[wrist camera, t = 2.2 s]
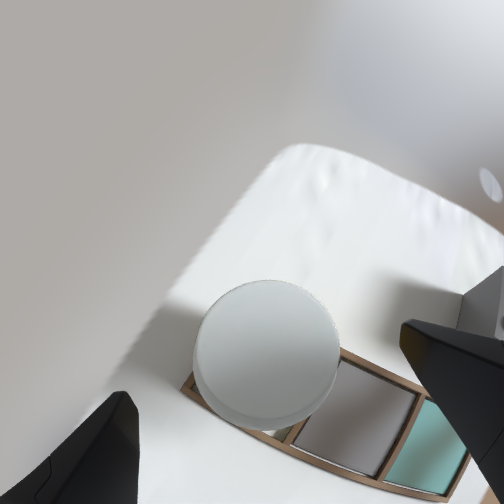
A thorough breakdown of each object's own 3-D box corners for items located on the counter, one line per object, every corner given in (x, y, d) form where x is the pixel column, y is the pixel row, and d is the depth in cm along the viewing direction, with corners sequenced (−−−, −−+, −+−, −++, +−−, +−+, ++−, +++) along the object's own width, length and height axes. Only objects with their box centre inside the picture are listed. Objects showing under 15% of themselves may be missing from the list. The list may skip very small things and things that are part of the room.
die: (502, 319, 16) (547, 292, 11) (491, 376, 14) (542, 360, 9) (463, 294, 17) (507, 261, 12) (448, 354, 15) (500, 333, 10)
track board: (484, 415, 13) (488, 415, 12) (443, 501, 10) (447, 503, 9) (243, 297, 18) (243, 295, 18) (182, 390, 15) (179, 390, 15)
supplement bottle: (212, 411, 15) (153, 425, 6) (224, 325, 17) (187, 250, 9) (304, 420, 14) (355, 445, 6) (312, 333, 17) (361, 265, 8)
